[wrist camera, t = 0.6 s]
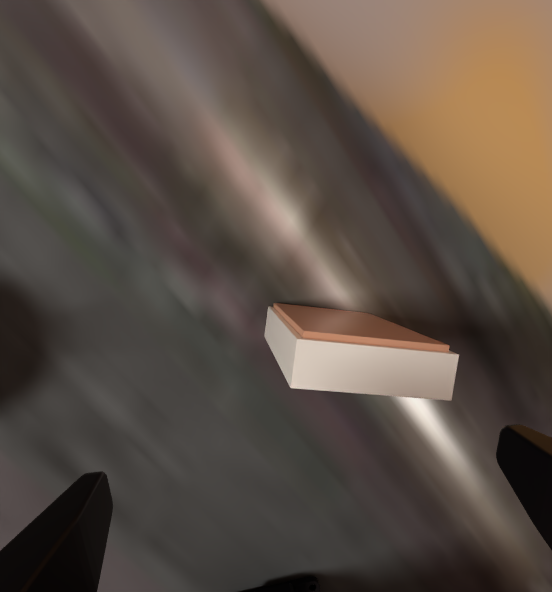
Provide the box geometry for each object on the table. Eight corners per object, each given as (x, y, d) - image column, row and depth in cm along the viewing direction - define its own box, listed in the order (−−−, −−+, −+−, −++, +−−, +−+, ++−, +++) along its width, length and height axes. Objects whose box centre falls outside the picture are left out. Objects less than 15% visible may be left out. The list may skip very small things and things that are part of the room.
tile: (366, 346, 26) (451, 400, 17) (264, 336, 25) (290, 387, 16) (371, 313, 26) (460, 347, 16) (268, 301, 25) (298, 331, 15)
